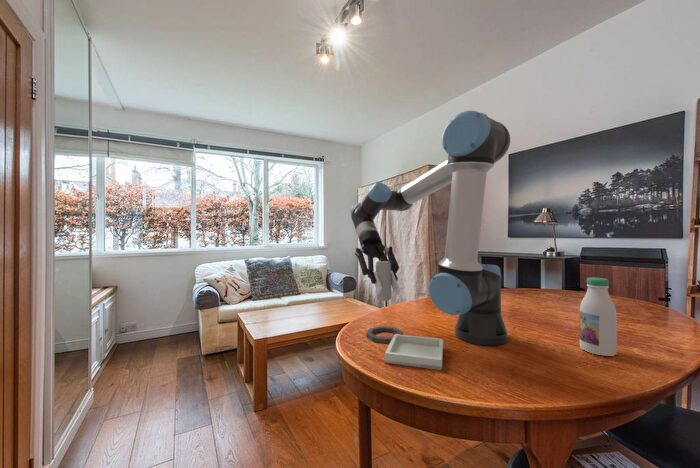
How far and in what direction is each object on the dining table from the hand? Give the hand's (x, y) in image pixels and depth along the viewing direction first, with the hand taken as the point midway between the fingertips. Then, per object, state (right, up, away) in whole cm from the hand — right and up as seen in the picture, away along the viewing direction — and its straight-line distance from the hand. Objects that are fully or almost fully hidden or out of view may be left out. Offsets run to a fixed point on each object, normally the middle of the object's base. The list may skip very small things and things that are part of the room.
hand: (388, 290), depth 89 cm
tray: (+6, -16, -10) cm, 20 cm away
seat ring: (-1, -15, +4) cm, 16 cm away
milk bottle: (+56, -15, -10) cm, 59 cm away
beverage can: (-1, -4, +4) cm, 5 cm away
